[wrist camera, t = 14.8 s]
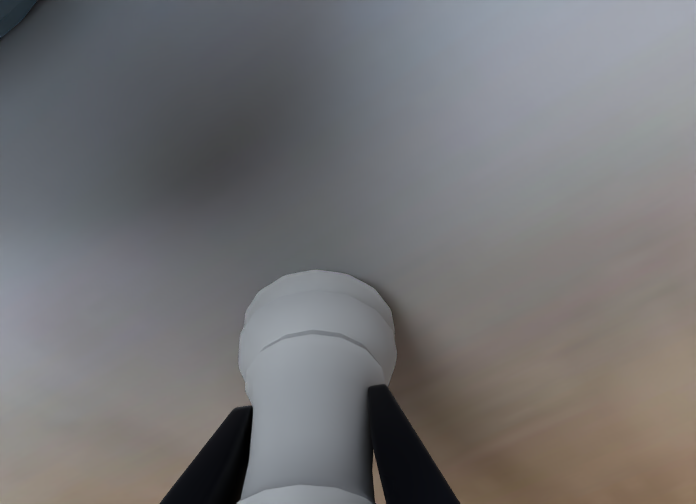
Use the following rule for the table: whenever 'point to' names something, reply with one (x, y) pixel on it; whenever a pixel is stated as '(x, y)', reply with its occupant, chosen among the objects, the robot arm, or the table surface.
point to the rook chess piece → (313, 387)
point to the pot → (13, 13)
